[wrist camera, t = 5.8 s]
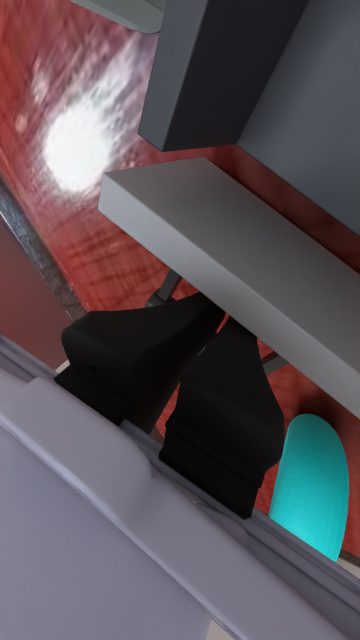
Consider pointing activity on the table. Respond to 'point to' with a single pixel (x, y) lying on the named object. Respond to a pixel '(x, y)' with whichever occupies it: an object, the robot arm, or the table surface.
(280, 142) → the drawer
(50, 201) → the table surface
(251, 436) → the robot arm
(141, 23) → the jar
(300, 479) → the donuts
